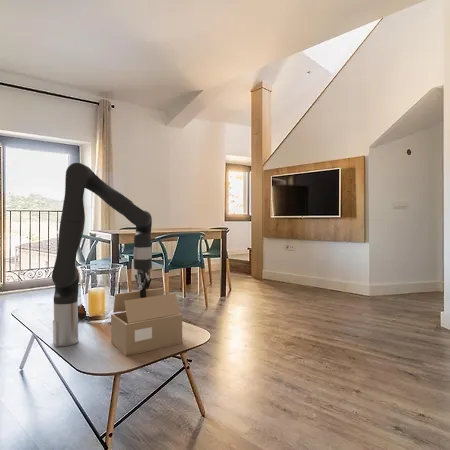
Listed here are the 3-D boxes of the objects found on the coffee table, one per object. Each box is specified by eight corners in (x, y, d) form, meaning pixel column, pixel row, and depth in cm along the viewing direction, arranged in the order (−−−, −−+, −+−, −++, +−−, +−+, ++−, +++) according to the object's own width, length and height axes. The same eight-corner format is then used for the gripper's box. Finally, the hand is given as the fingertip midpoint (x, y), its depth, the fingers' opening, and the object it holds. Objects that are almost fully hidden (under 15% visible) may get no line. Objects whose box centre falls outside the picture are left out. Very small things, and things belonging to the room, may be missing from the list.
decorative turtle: (67, 319, 184) (67, 303, 184) (95, 315, 194) (95, 300, 195) (74, 321, 177) (75, 305, 177) (103, 317, 187) (104, 302, 188)
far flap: (161, 305, 162) (161, 304, 162) (164, 288, 159) (164, 287, 160) (113, 312, 149) (113, 312, 150) (115, 294, 147) (115, 293, 147)
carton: (126, 356, 134) (125, 324, 134) (111, 342, 149) (110, 314, 149) (182, 343, 148) (182, 314, 148) (163, 331, 163) (163, 305, 163)
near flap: (128, 323, 135) (128, 322, 135) (123, 300, 138) (124, 300, 138) (179, 313, 147) (180, 313, 147) (174, 293, 151) (175, 293, 150)
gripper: (128, 256, 154) (129, 296, 154) (140, 259, 143) (140, 302, 144) (145, 255, 158) (145, 294, 159) (157, 258, 147) (157, 299, 148)
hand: (143, 298), depth 151 cm, fingers closed
